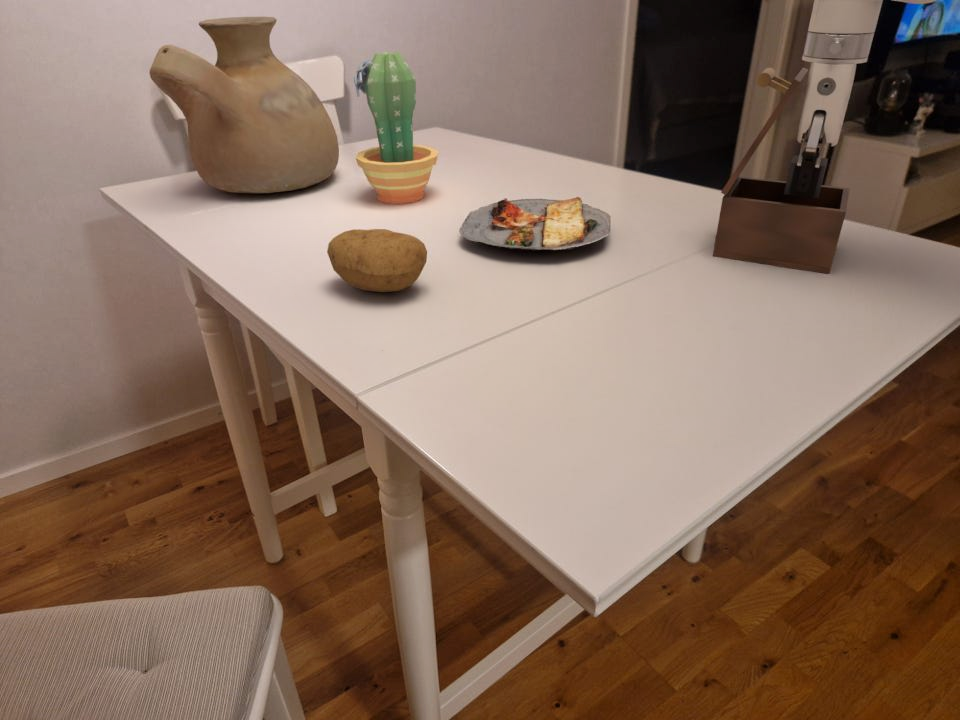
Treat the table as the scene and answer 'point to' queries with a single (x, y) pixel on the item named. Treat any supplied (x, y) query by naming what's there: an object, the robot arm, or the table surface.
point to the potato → (377, 259)
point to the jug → (248, 111)
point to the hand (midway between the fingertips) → (803, 189)
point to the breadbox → (780, 225)
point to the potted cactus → (393, 131)
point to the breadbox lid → (788, 89)
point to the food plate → (537, 224)
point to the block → (791, 171)
